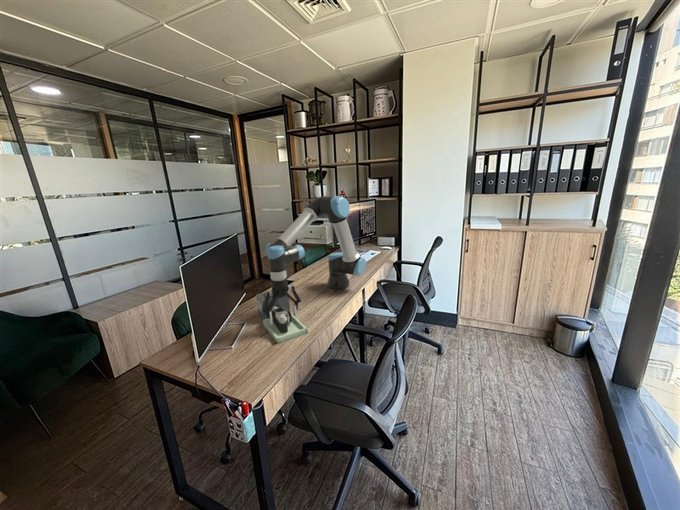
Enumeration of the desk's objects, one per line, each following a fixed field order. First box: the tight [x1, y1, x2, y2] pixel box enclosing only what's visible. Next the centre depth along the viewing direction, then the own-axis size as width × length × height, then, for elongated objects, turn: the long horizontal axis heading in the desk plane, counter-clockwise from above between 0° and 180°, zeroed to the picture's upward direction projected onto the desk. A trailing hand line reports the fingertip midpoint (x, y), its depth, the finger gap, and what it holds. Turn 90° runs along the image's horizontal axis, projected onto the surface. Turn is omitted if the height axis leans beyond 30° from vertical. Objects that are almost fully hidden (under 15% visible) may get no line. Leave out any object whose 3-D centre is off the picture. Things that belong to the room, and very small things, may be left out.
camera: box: [272, 307, 293, 334], centre depth 137 cm, size 16×9×10 cm, turn 30°
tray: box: [262, 312, 308, 345], centre depth 137 cm, size 15×22×2 cm
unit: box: [255, 291, 291, 321], centre depth 151 cm, size 15×12×12 cm
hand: (283, 319), depth 136 cm, fingers open, 12 cm apart
